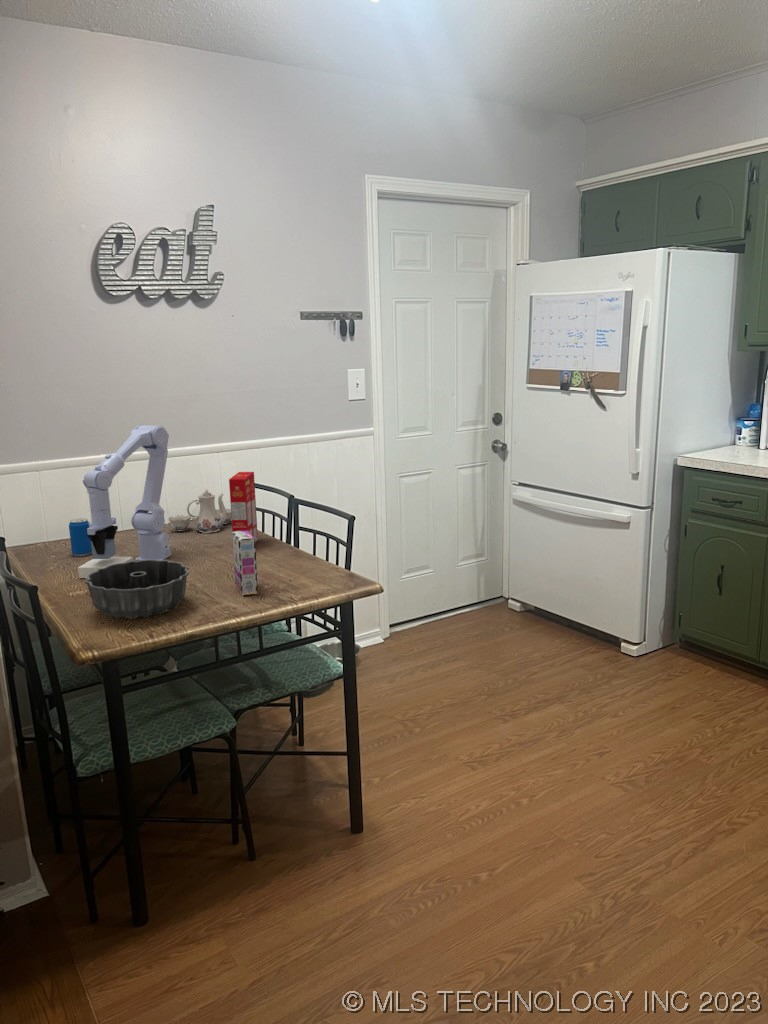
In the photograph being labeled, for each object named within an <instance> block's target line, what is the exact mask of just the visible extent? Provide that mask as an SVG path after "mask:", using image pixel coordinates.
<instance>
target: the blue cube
mask: <svg viewBox="0 0 768 1024" xmlns="http://www.w3.org/2000/svg"><path fill="white" fill-rule="evenodd" d="M91 547H92V552H91V555H92V559H109V558H111V557H115V556H116V555H117V552H116V544H115V538H114V539H105V551H104V554H103V555H100V554H97V553H96V550H95V548H94V545H93V543H92V542H91Z"/></svg>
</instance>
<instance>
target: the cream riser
mask: <svg viewBox="0 0 768 1024" xmlns="http://www.w3.org/2000/svg"><path fill="white" fill-rule="evenodd" d="M129 561H134V557H133V556H113V557H111V558H109V559H93V558H92V559H90V560H88V561H87V562H85V563H83V564H81V565H80V566H78V567H77V571H78V578H87V576H88V575H89V574H90V573H92V572H95V571H96V570H97V569H100V568H105V567H107V566H109V565H112V564H117V563H126V562H129Z"/></svg>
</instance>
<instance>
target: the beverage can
mask: <svg viewBox="0 0 768 1024" xmlns="http://www.w3.org/2000/svg"><path fill="white" fill-rule="evenodd" d="M89 523H90V522H89V521H88V519H87V518H73V519H71V520H69V524H68V530H69V538H70V539H69V540H70V549H71V554H72V555H73V556H74V557H78V556H80V557H86V555H87V556H90V555H91V554H92V547H91V543H92V542H91V540H90V539H89V537H88V536H87V533H88V532H87V528H89V527H90V526H89ZM89 554H90V555H89Z"/></svg>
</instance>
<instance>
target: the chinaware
mask: <svg viewBox="0 0 768 1024" xmlns="http://www.w3.org/2000/svg"><path fill="white" fill-rule="evenodd" d="M223 496H224V493H220V494H219V495H218V498H217V500H218V501H217V502H218V509H216V505H215V497H216V495H215V494H212V493H211V492H210V491H209V490H208V489H205V490H204V491H203V492H202V494H201V495H198V496H197V498H198V499H194V500H191V501H190V502H189V503H188V504H187V506H186V511H187V514H188V515H187V516H185V515H183V514H180V515H179V514H178V515H176V516H169V518H168V522H167V523H166V529H167V530H168V531H171V530H173V532H177V531H178V530H186V529H188V527H189V526H190V523H191V520H192V522H193V523H194V526H195V529H196V530H197V532H198V531H202V532H208V531H215V530H218V529H220V530H221V528H222V527H223V526H224V525H223V523H230V521H231V522H232V517H231V508H226V506H225V505H224V501H223ZM192 503H195V504H196V505H197V506H198V505H199V511H198V515H192V514H191V512H190V509H189V508H190V506H191V505H192ZM169 524H170V526H171V527H172V528H169V526H168V525H169Z"/></svg>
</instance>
